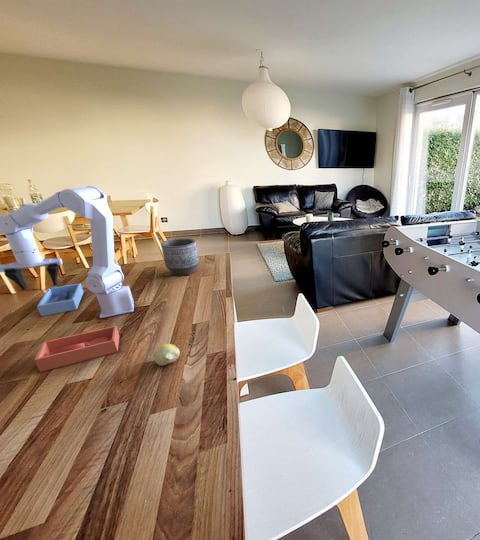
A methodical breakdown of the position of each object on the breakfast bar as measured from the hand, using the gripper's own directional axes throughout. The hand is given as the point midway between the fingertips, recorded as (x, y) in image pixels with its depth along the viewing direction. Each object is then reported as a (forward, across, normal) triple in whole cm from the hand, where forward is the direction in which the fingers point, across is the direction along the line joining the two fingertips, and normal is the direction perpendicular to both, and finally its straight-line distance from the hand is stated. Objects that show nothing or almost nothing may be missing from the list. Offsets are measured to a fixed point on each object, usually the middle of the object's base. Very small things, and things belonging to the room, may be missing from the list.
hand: (40, 286), depth 100 cm
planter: (+10, -44, -18) cm, 48 cm away
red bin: (+9, -13, +36) cm, 39 cm away
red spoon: (+9, -13, +36) cm, 39 cm away
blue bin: (+9, -3, -4) cm, 11 cm away
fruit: (+10, -33, +52) cm, 62 cm away
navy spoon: (+9, -3, -4) cm, 10 cm away
